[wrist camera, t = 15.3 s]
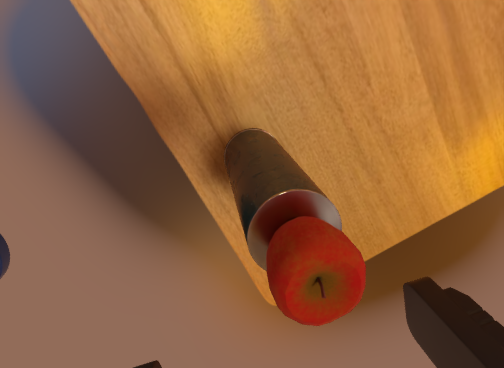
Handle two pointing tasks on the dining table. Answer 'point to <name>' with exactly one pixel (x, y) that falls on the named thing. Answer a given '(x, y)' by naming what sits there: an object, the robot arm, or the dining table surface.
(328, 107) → the dining table surface
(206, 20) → the dining table surface
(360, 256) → the apple
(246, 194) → the tin can
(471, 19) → the dining table surface
